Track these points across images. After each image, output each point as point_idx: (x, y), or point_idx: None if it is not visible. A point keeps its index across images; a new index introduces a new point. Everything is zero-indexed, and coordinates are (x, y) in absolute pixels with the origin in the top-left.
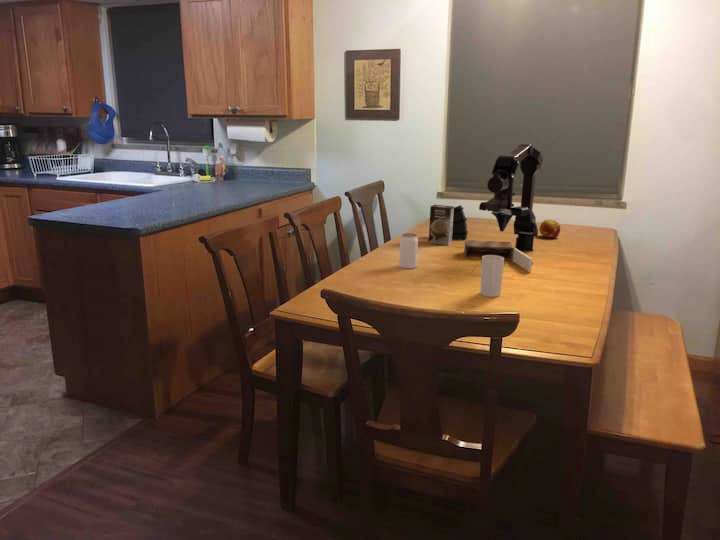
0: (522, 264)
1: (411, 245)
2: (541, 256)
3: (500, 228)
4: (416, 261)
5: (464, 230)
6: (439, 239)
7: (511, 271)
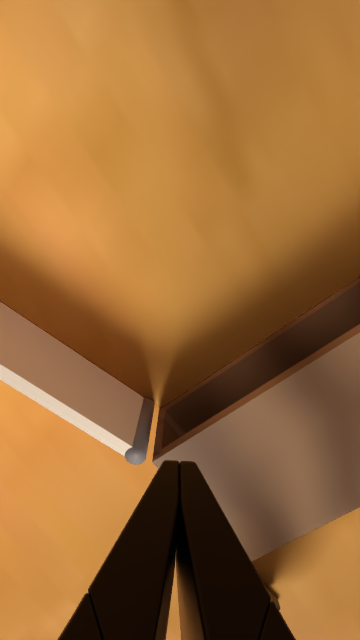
0: (16, 324)
1: None
2: (110, 550)
3: (187, 489)
4: None
5: None
6: None
7: (5, 197)
